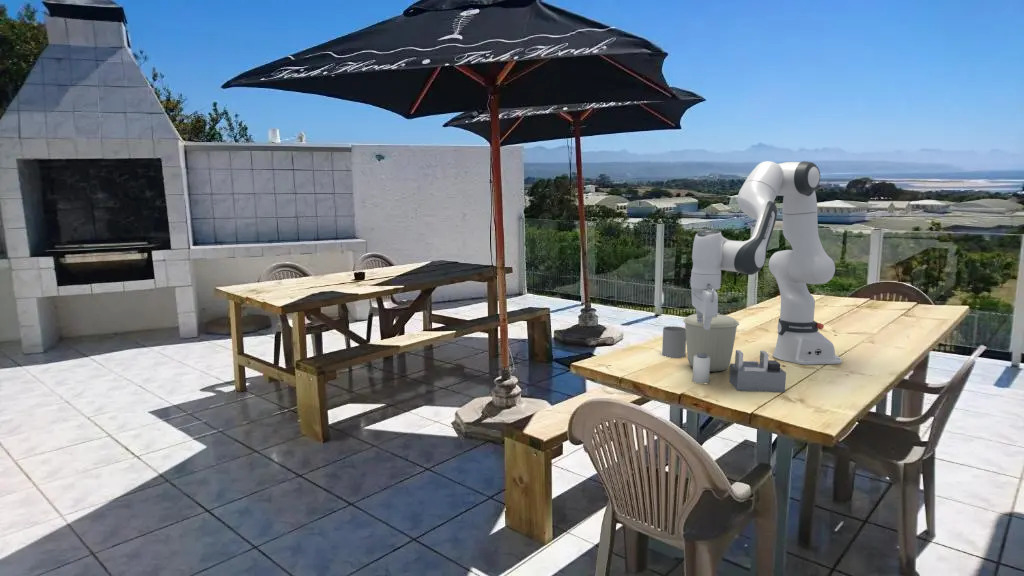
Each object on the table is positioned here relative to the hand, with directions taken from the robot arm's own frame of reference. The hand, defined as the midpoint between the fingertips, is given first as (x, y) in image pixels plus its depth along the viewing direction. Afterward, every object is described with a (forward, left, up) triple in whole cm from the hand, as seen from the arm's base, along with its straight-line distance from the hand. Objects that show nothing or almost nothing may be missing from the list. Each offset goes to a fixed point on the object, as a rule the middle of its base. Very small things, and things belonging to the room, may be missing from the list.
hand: (703, 325), depth 190 cm
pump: (0, 0, -18) cm, 18 cm away
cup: (+3, -32, -18) cm, 37 cm away
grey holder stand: (-16, +4, -18) cm, 25 cm away
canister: (-6, -16, -18) cm, 25 cm away
